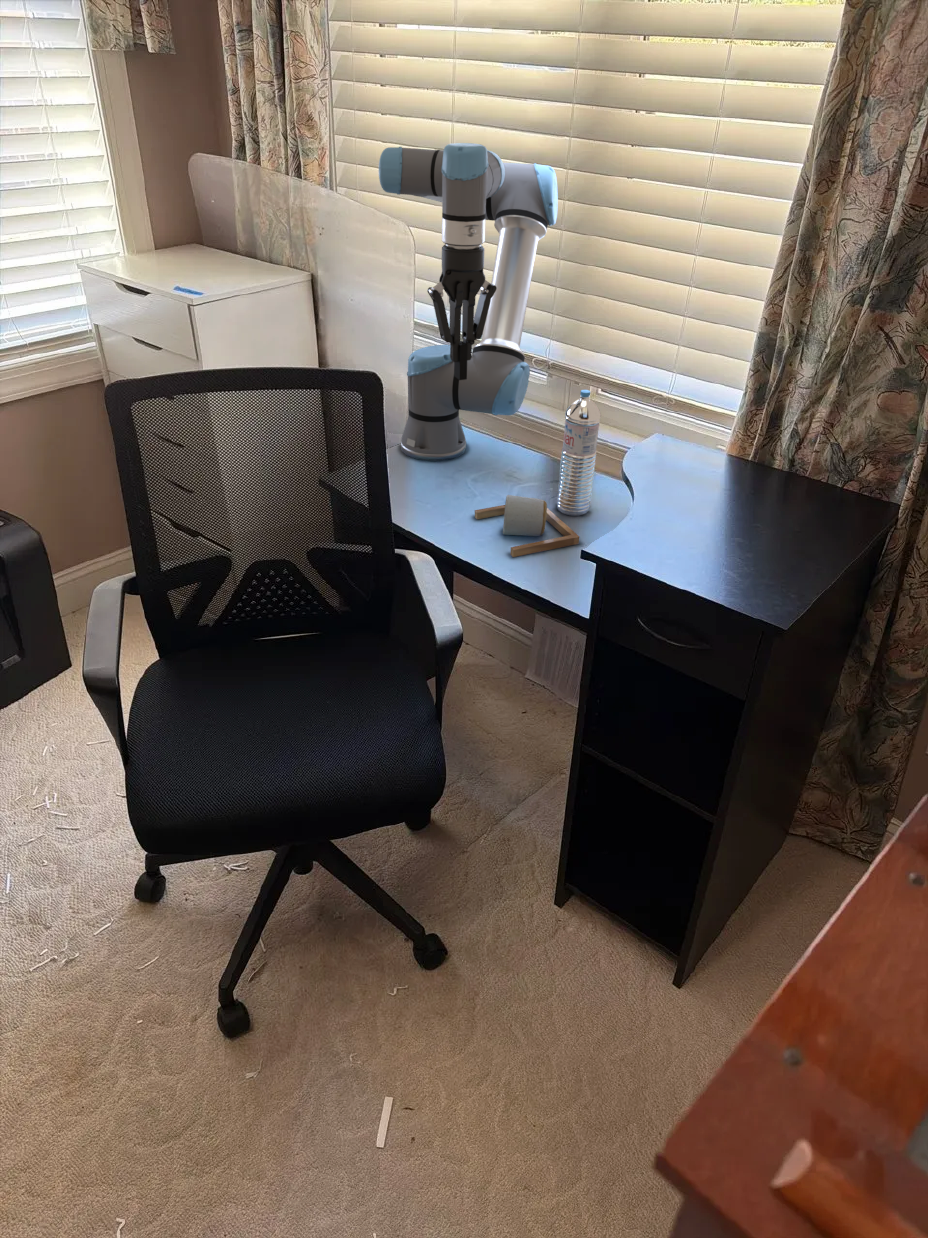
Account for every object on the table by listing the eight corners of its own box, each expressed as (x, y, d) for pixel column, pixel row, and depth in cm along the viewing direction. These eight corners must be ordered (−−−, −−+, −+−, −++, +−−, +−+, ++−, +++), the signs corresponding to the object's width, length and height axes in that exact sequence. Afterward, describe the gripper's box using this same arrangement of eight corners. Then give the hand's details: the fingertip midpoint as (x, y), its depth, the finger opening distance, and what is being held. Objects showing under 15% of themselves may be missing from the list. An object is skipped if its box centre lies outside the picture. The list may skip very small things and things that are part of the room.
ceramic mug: (545, 543, 163) (548, 506, 159) (502, 541, 164) (504, 505, 159) (543, 518, 172) (546, 483, 168) (502, 516, 172) (504, 481, 168)
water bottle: (555, 501, 179) (566, 384, 165) (588, 502, 178) (602, 385, 164) (556, 516, 173) (568, 396, 159) (590, 517, 173) (605, 398, 159)
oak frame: (474, 517, 172) (474, 510, 171) (536, 505, 177) (537, 498, 176) (512, 557, 159) (513, 549, 158) (578, 543, 164) (579, 536, 163)
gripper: (437, 251, 144) (436, 387, 157) (506, 246, 148) (499, 379, 162) (420, 242, 150) (421, 375, 163) (487, 238, 154) (483, 367, 167)
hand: (460, 377), depth 162 cm, fingers closed
